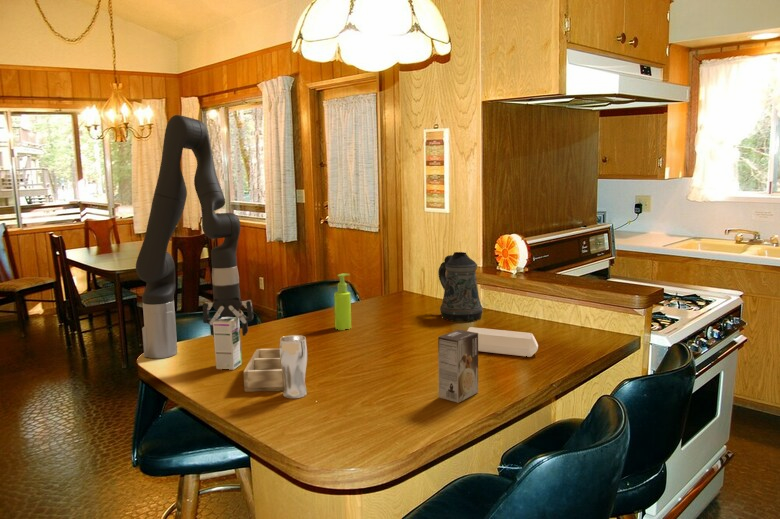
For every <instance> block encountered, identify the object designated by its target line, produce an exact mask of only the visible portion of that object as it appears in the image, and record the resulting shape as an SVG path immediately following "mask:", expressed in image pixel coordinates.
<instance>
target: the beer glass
mask: <svg viewBox="0 0 780 519" xmlns="http://www.w3.org/2000/svg"><path fill="white" fill-rule="evenodd" d="M307 346H308V345H307V338H306V336H304V335H300V334H291V335H285V336H281V337H280V339H279V348H280V362H281V368H282V372H283V377H284V391H282V396H283V397H284V398H286V399H293V400H294V399H295V400H296V399H302V398H304V397H306V396H307V394H308V393H307V387H306V386H307V385H306V381H305V380H306V372H307V371H306V370H307V364H308V347H307Z"/></svg>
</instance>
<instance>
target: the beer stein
mask: <svg viewBox="0 0 780 519" xmlns="http://www.w3.org/2000/svg"><path fill="white" fill-rule="evenodd" d="M477 269H478V264H477V263H476V261H475V260H473V259H472V258H470V257H469V256H468V254H467V252H465V251H464V252H463V251H457V252H456V251H455V252H454V253H453V254H451V255H446V256H445V258H444V261H442V262H441V263H440V266H439V267H438V270H437V271H438V273H437V274H438V278H439V282H440V285H441V286H442V288H443V290H444V291H443V298H442V301H441V305H440V308H439V311H440V315H441V318H442V317H443V318H445V319H444V320H446V319H448V320H447V321H450V320H453V321H452V322H457V321H468V322H474V321H473V320H476V321H478V320H477V319H479V320H481V319H482V315H483V311H484V310H483V309H484V308H483V306H482V303H481V301H480V296H479V290H478V289H479V288H478V282H477V275H476V271H477ZM443 318H442V319H443Z"/></svg>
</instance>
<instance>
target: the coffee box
mask: <svg viewBox="0 0 780 519" xmlns="http://www.w3.org/2000/svg"><path fill="white" fill-rule="evenodd" d="M437 342H438V343H437V344H438V345H437V347H438V350H437V351H438V352H437V353H438V354H437V356H438V360H437V361H438V363H437V364H438V398H440V399H443V400H447V401H450V402H453V403H454V402H455V403H457V404H459V403H461V402H462V401H463V402H464V401H465V400H466V399H468V398H470V397H473V396H474V395H476V394H478V393H479V351H478V333H475V332H469V331H467V330H463V329H456V330H453V331H451V332H448V333H446V334H442V335H440V336H438V340H437Z"/></svg>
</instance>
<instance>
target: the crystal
mask: <svg viewBox="0 0 780 519" xmlns="http://www.w3.org/2000/svg"><path fill="white" fill-rule="evenodd" d="M466 331H469V332H475V333H478V352H481V353H482V352H483V353H491V354H492V353H493V354H502V355H508V356H509V355H510V356H511V355H512V356H520V357H526V356H527V357H528V358H531V357H533V355H534V354H535V353H536V352H537V351H538V349H539V343H538V342H537V340H536V338H535V336H534V334H533V333H532V332H524V331H513V330H504V329H492V328H483V327H473V326H470V327H468V329H467V330H466Z"/></svg>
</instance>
